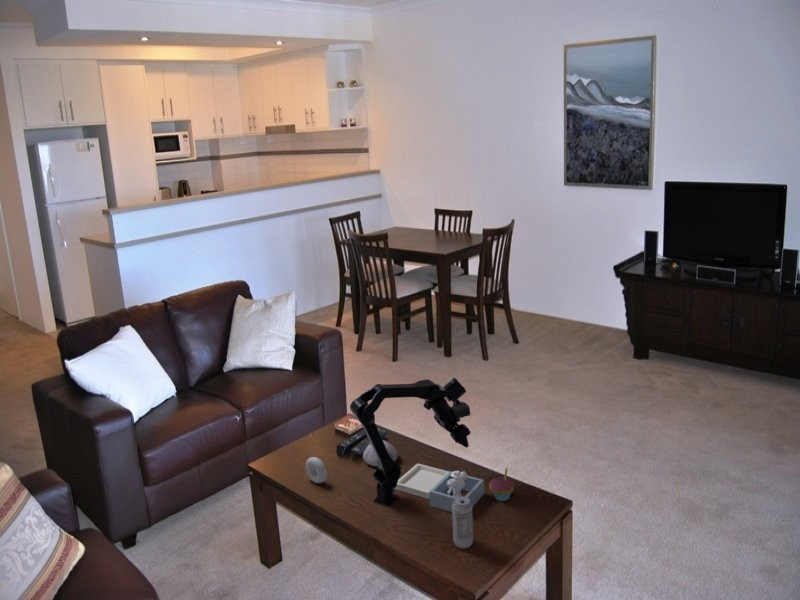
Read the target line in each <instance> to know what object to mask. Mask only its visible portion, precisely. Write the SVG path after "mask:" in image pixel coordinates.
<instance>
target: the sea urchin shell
mask: <svg viewBox="0 0 800 600" xmlns="http://www.w3.org/2000/svg"><path fill="white" fill-rule="evenodd" d="M382 440H383V442H384V444H385V447H386V449H387V451H388V453H392V454H393V455H394V456H395V457H396V458H397V459H398V452H397V449H396V448H395V447H394V446H393V444H391V443H390V442H389V441H386V440H384V439H382ZM362 458H363V462H365V463H366V464H368V465H370V466H371V467H373V466H374V467H377V468H378V464H377V456H376V454H375V452H374V449H373V447H372V445H371V443H370V442H369V444H368V445H367V446H366V448H365V449H364V451H363V454H362Z"/></svg>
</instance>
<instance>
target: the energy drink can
mask: <svg viewBox="0 0 800 600" xmlns="http://www.w3.org/2000/svg"><path fill="white" fill-rule="evenodd" d="M451 514H452V533H453V534H452V536H453V538H452V539H453V540H452V541H453V544H454V545H455V546H456V547H457V548H458V549H463V550H465V549H469V548H470V547H471V546H472V545H473V543H474V526H473V524H474V523H473V522H474V521H473V507H472V504H471V502H470V499H469V498H467V497H465V496H463V495H462V496H460V497H456V498H455V499H454V502H453V504H452V512H451Z"/></svg>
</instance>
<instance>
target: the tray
mask: <svg viewBox="0 0 800 600" xmlns="http://www.w3.org/2000/svg"><path fill="white" fill-rule="evenodd" d="M449 472H450V471H448V470H444V469H441V468H436V467H433V466H429V465H425V464H422V463H416V464H415V465H414V466H412V468H410V469H409V470H408V471H406V473H405V474H403V475H401V476H400V477H399V479H398V482H397V486H396V487H395V491H400V492H404V493H407V494H410V495H414V496H417V497H420V498H423V499H427V500H430V493H429V491H430V490H431V489H432V488H434V487H435V486H436V485H437V484H438V483H439V482H440V481H441V480H442V479H443V478H444V477H445V476H446V475H447V474H448V473H449Z"/></svg>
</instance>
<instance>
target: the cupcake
mask: <svg viewBox="0 0 800 600" xmlns="http://www.w3.org/2000/svg"><path fill="white" fill-rule="evenodd" d="M504 470H505V471H504V476H498V477H494V478H493V479H491V480H490V482H489V485H488V486H489V490H490V492H492V493H493V495H494V498H495V499H496V500H497V501H500V502H505V501H508V500H509V499H510V496H511V493H513V492H514V491H515V490H514V489H515V482H514V481H513V480H512V479H511V478H509V477H507V476H508V475H507V474H508V466H507V467H506V468H505V469H504Z"/></svg>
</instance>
